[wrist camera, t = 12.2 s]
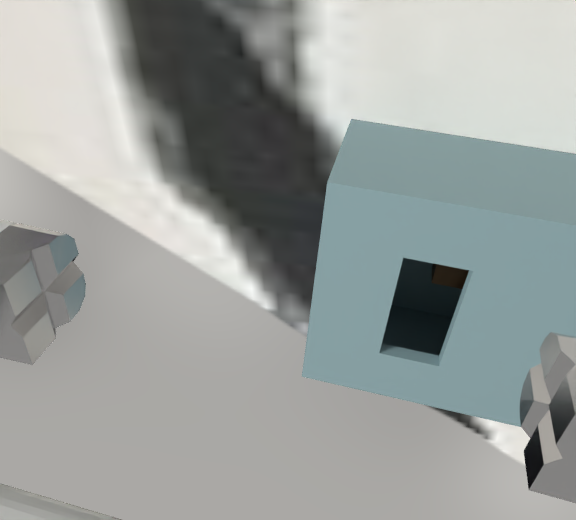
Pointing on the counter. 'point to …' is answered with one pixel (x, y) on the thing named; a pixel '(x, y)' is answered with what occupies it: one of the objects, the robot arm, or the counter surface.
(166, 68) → the counter surface
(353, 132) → the box
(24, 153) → the counter surface
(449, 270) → the brown rectangular block
